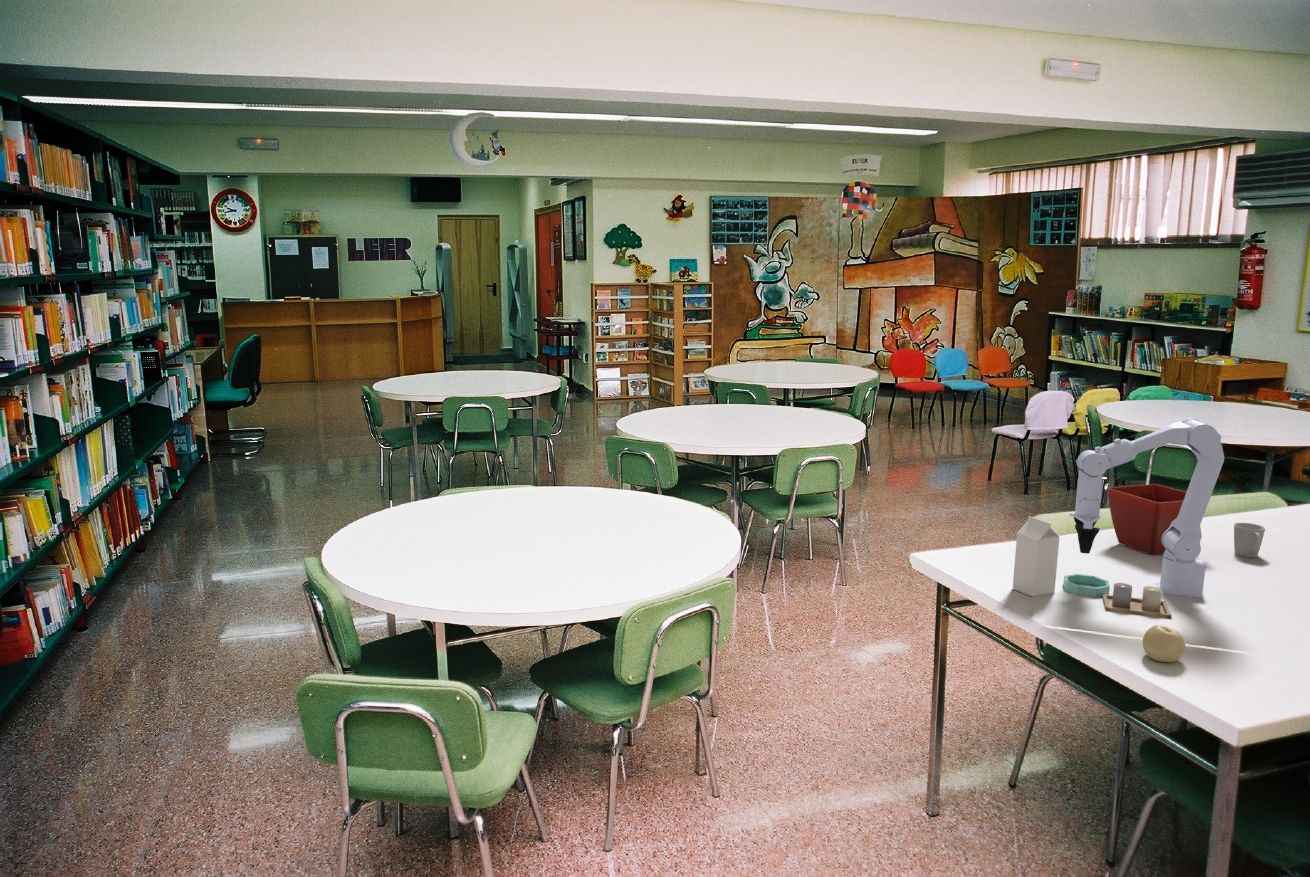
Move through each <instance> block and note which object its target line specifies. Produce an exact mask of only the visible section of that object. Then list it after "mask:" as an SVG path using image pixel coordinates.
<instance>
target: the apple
mask: <svg viewBox="0 0 1310 877" xmlns="http://www.w3.org/2000/svg"><path fill="white" fill-rule="evenodd" d="M1142 638H1143V639H1142V648H1143V650H1144V652H1145V654H1146V655H1147V657H1148V658H1150V659H1152V660H1154V661H1157V662H1162V663H1174V662H1177V661H1179V660H1180V659H1181V658H1182V657H1183V656H1184V654H1185V650H1186V642H1185V639H1184V637H1183V635H1182V634H1181V632H1179V631H1177V630H1175V629H1174V628H1171V627H1169V626H1165V625H1161V624H1160V625H1159V624H1156V625H1153V626H1151V627H1150V628H1148V629H1147V630H1146V631H1145V633H1144V635H1143V637H1142Z"/></svg>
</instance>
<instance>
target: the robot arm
mask: <svg viewBox="0 0 1310 877" xmlns="http://www.w3.org/2000/svg"><path fill="white" fill-rule="evenodd" d="M1169 444H1174V445H1175V444H1176V445H1182V446H1188V447H1189V448H1190V449H1191V450H1192V452H1193V453H1194V454H1193V455H1195V457H1196V458H1197V462H1196V465H1195V468H1194V471H1193V473H1192V476H1191V479H1190V482H1189V485H1188V487H1187V490H1186V491H1185V492H1186V495H1185V498H1184V501H1183V503H1182V506H1181V509H1180V512H1179V514H1178V517H1177V518H1176V519H1175V520H1173V521H1172V522H1171V525H1170V527H1169V528H1168V529H1167V530H1166V531H1165V532H1164V533H1163V535H1162V544H1163V546H1164V547H1165V548H1166V549H1165V552H1164V553H1163V554H1162V564H1161V571H1160V572H1161V573H1160V581H1156V584H1155V585H1156V586H1157V588H1160V589H1161V590H1162V594H1170V595H1180V596H1181V595H1182V596H1189V597H1198V598H1203V597H1204V596H1203V592H1204V591H1203V590H1204V585H1205V584H1204V583H1205V578H1206V577H1205V576H1206V565H1205V564H1206V563H1205V561H1204V560H1203V559H1197V558H1198V557H1199V556H1200V554H1201V552H1202V549H1201V539H1202V536H1203V534H1202V529H1201V524H1202V521H1203V518H1204V516H1205V514H1206V510H1207V508H1208V505H1209V504H1210V503H1209V502H1210V500H1211V497H1212V495H1213V491H1214V489H1215V486H1216V484H1217V480H1218V478H1219V476H1220V475H1219V474H1220V473H1221V470H1222V467H1223V464H1224V462H1225V454H1224V449H1223V446H1222V436H1221V435H1220V433H1219V432H1218V431H1217V429H1216V428H1215V427H1213V425H1210V424H1208V423H1204V422H1202V421H1200V420H1198V419H1197V418H1186V419H1184V420H1182V421H1176V422H1173V423H1171V424H1169V425H1167V426H1164V427H1163V428H1160V429H1158V430H1155V431H1153V432H1150V433H1148V434H1145V435H1144V436H1140V437H1138V438H1136V439H1134V440H1129V439H1126V438H1123V439H1120V438H1116V439H1114V440H1113V442H1111V443H1108V444H1105V445H1104V446H1099V445H1098V446H1095V447H1094V450H1091V449H1087V450H1084V451H1083V452H1081V453H1080V454H1079V455H1078V457H1077V459H1076V460H1075V462H1076V466H1077V468H1078V478H1077V484H1076V485H1077V486H1076V495H1075V497H1076V498H1075V508H1074V511H1069V516H1070V517H1073V520H1074V522H1075V524H1074V528H1075V529H1074V530H1076V533H1077V540H1078V546H1079V547H1078V548H1079V552H1080V553H1081V554H1090V553H1091V550H1092V547H1093V544H1094V541H1095V538H1096V537H1097V535H1098V534H1099V532H1100V527H1094V526H1095V525H1096V524H1097V522H1098V521H1099V520H1100V519H1101V515H1100V512H1101V500H1102V490H1103V475H1104V474H1105V473H1106V472H1107V469H1112V468H1116V467H1117V466H1120V465H1123V464H1126V463H1128V462H1131V461H1134V460H1135V458H1136V457H1137V455H1138V454H1139V453H1143V452H1146V451H1150V450H1151V449H1155V448H1159V447H1162V446H1166V445H1169Z"/></svg>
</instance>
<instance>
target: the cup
mask: <svg viewBox="0 0 1310 877" xmlns="http://www.w3.org/2000/svg"><path fill="white" fill-rule="evenodd" d="M1265 532H1266V528H1265V526H1262V525H1259V524H1256V523H1251V522H1237V523H1234V524H1233V542H1234V543H1233V544H1234V546H1233V548H1234V551H1233V552H1234V554H1235V555H1237V556H1240V557H1244V558H1257V557H1258V556H1259V553H1260V550H1261V546H1262V544H1263V538H1264V535H1265Z"/></svg>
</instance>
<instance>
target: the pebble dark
mask: <svg viewBox="0 0 1310 877" xmlns="http://www.w3.org/2000/svg"><path fill="white" fill-rule="evenodd" d="M1132 594H1133V586H1132V585H1131V584H1128V583H1123V582H1115V583H1113V592H1112V595H1113V599H1112V605H1113V606H1115V607H1119V608H1130V605H1131V597H1132Z"/></svg>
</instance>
